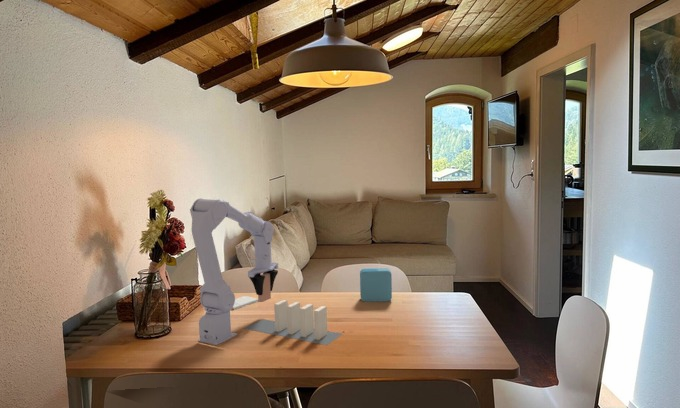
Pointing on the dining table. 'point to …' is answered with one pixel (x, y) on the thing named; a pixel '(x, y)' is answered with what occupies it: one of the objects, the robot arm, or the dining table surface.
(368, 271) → the blue rounded slab
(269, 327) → the mat
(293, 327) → the domino
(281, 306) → the domino
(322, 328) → the domino
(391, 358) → the dining table surface
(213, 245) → the robot arm
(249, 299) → the external hard drive
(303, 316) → the domino
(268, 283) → the domino
